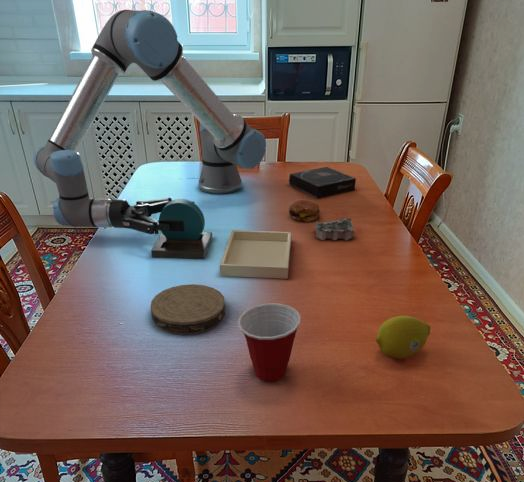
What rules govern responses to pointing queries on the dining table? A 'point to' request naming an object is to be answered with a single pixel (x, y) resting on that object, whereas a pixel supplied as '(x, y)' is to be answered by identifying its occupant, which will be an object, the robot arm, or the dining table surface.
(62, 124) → the robot arm
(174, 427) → the dining table surface
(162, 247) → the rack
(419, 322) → the lemon
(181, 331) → the wood log slice
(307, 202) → the burger
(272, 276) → the tray
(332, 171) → the black box
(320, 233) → the egg carton
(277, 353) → the plastic cup
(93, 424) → the dining table surface
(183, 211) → the disc
